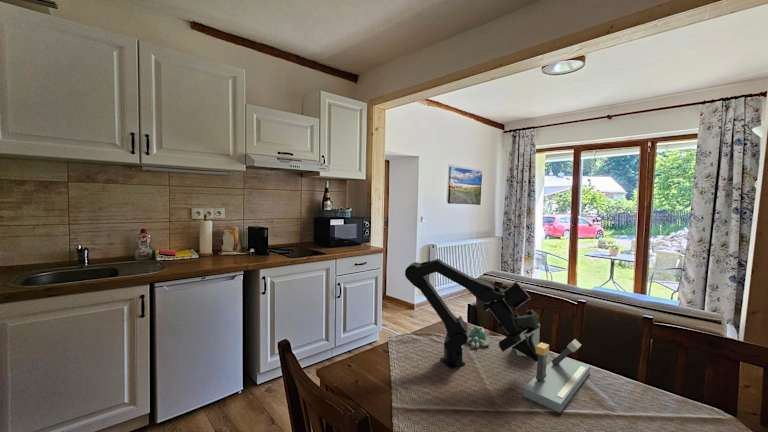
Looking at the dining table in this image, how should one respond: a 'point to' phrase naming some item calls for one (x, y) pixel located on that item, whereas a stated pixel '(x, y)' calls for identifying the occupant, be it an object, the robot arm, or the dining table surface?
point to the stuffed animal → (477, 337)
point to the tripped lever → (541, 360)
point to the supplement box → (535, 340)
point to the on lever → (566, 352)
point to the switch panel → (557, 384)
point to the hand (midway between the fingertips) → (538, 360)
